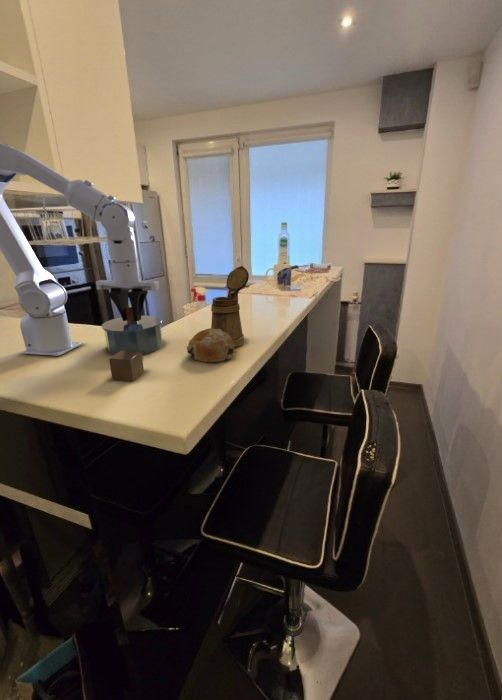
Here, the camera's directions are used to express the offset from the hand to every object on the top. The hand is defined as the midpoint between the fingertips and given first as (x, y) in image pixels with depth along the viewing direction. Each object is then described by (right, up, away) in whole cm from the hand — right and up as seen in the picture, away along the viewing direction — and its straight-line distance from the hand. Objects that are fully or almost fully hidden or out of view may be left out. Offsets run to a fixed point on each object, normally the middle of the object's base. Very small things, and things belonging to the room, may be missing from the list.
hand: (132, 320), depth 78 cm
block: (+4, -12, -14) cm, 19 cm away
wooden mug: (+23, -5, +7) cm, 25 cm away
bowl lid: (0, -1, 0) cm, 1 cm away
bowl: (0, -6, +2) cm, 7 cm away
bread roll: (+19, -9, -4) cm, 21 cm away
